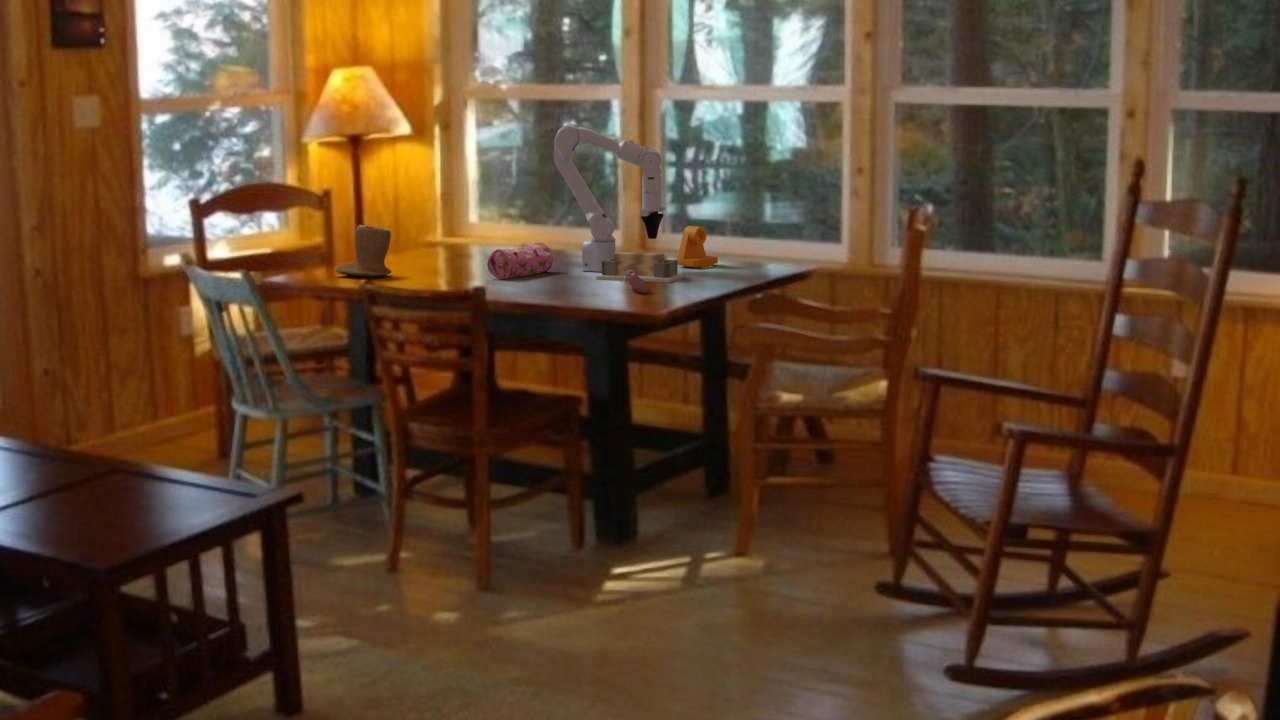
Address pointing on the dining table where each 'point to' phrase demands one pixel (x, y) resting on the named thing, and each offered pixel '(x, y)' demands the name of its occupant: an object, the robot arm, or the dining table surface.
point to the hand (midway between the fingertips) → (652, 238)
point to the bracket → (694, 249)
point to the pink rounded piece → (636, 281)
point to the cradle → (662, 274)
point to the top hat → (369, 253)
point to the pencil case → (520, 261)
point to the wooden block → (637, 262)
